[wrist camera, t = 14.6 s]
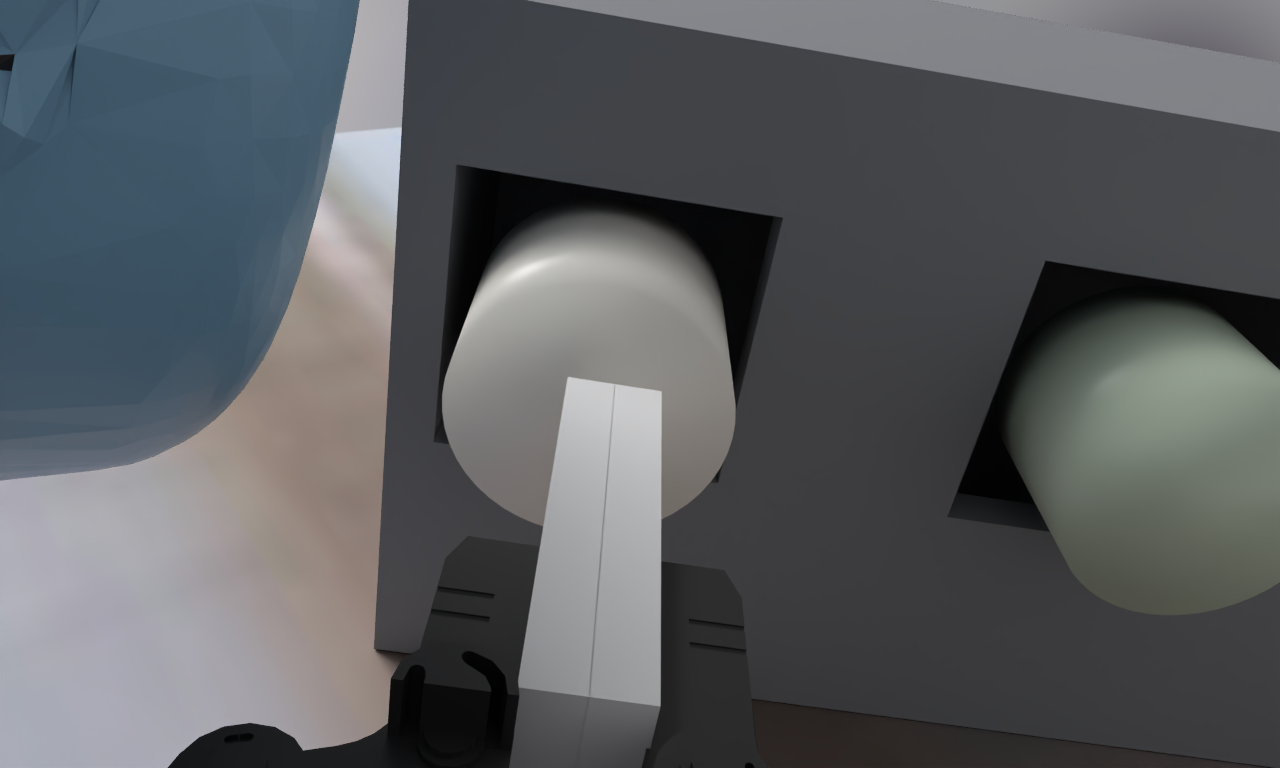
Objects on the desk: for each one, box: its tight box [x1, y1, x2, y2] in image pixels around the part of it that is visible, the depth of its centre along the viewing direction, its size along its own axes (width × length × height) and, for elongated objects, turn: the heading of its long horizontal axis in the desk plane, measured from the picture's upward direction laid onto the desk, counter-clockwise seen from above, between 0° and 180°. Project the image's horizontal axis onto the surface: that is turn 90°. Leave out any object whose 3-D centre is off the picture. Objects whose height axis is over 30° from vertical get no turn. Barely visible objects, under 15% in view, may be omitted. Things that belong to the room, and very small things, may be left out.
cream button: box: [442, 197, 736, 526], centre depth 20 cm, size 4×5×5 cm
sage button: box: [997, 286, 1280, 615], centre depth 20 cm, size 4×5×5 cm
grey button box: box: [374, 0, 1280, 768], centre depth 26 cm, size 9×30×15 cm, turn 89°
